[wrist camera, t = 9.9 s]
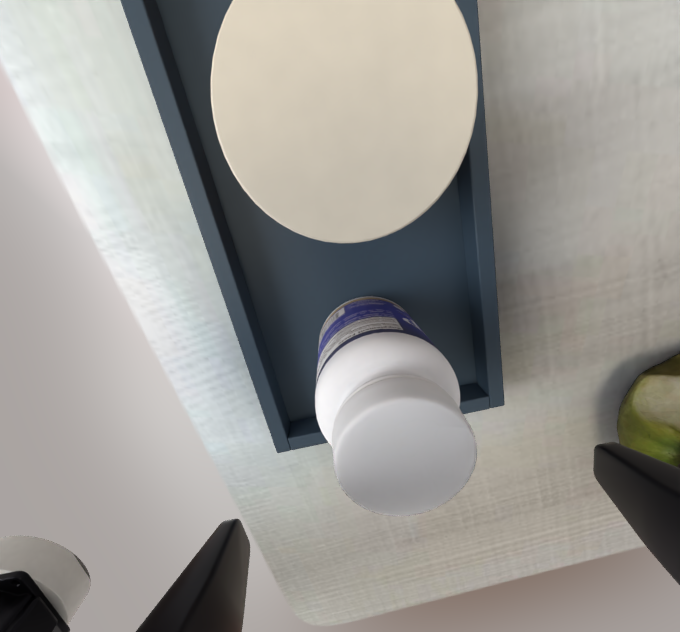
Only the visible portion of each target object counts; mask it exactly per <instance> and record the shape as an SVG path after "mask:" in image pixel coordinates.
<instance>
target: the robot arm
mask: <svg viewBox="0 0 680 632" xmlns="http://www.w3.org/2000/svg"><path fill="white" fill-rule="evenodd" d="M594 475H595V477H596V479H597V481H598V482H599V484H600V485H601V486H602V488H603V489H604V490H605V492H606V493H607V495H608V496H609V497H610V499H611V500H612V501H613V503H614V504H615V505H616V507H617V508H618V509H619V511H620V512H621V513H622V515H623V516H624V517H625V519H626V520H627V521H628V523H629V524H630V525H631V527H632V528H633V529H634V531H635V532H636V533H637V535H638V536H639V537H640V539H641V540H642V541H643V543H644V544H645V545H646V546H647V548H648V549H649V550H650V551H651V552H652V554H653V555H654V556H655V557H656V558H657V559H658V561H659V562H660V563H661V564H662V565H663V567H664V568H665V569H666V570H667V571H668V572H669V573H670V574H671V575H672V577H673V578H674V579H675V580H676V581H677V583H678V584H679V585H680V468H678V467H676V466H673V465H671V464H668V463H666V462H663V461H661V460H658V459H656V458H653V457H651V456H648V455H646V454H643V453H641V452H638V451H636V450H633V449H631V448H628V447H626V446H623V445H621V444H618V443H615V442H609V443H604V444H599V445H597V446H596V447H595V449H594ZM249 557H250V543H249V540H248V537H247V535H246V533H245V530H244V528H243V525H242V523H241V521H240V520H239V519H232V520H228V521H224V522H222V523H221V524H220V525H219V526H218V528H217V529H216V530H215V532H214V533H213V534H212V535H211V537H210V538H209V539H208V540H207V542H206V543H205V544H204V546H203V547H202V548H201V549H200V551H199V552H198V553H197V554H196V556H195V557H194V558H193V559H192V561H191V562H190V563H189V565H188V566H187V567H186V568H185V570H184V571H183V572H182V573H181V575H180V576H179V577H178V579H177V580H176V581H175V582H174V584H173V585H172V586H171V588H170V589H169V590H168V591H167V593H166V594H165V595H164V597H163V598H162V599H161V600H160V602H159V603H158V604H157V606H156V607H155V608H154V609H153V610H152V612H151V613H150V614H149V616H148V617H147V618H146V620H145V621H144V622H143V623H142V624H141V626H140V627H139V628H138V630H137V631H136V632H242V625H243V617H244V616H243V615H244V607H245V597H246V587H247V576H248V567H249ZM0 632H70V628H69V627H68V625H67V624H66V623H65V621H64V620H63V619H62V617H61V616H60V615H59V613H58V612H57V611H56V609H55V608H54V607H53V605H52V604H51V603H50V602H49V600H48V599H47V598H46V596H45V595H44V594H43V592H42V591H41V590H40V588H39V587H38V586H37V584H36V583H35V582H34V580H33V579H32V578H31V576H30V575H29V574H28V573H27V572H25V571H14V572H9V573H4V574H0Z"/></svg>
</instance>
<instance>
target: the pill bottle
mask: <svg viewBox="0 0 680 632" xmlns="http://www.w3.org/2000/svg"><path fill="white" fill-rule="evenodd" d="M459 407H460V389H459V384H458V380H457V377H456V375H455V373H454V370H453V369H452V367H451V365H450V364H449V362H448V361H447V359H446V358H445V357H444V355H443V354H442V353H441V352H440V351H439V349H438V348H437V347H436V346H435V345H434V344H433V343H432V341H431V340H430V339H429V338H428V337H427V336H426V334H425V333H424V332H423V331H422V330H421V329H420V327H419V326H418V325H417V324H416V323H415V322H414V320H413V319H412V318H411V317H410V316H409V315H408V313H407V312H406V311H405V310H404V309H403V308H401V307H400V306H399V305H397V304H396V303H394V302H392V301H390V300H387V299H384V298H381V297H373V296H366V297H359V298H355V299H352V300H349V301H347V302H345V303H343V304H342V305H340V306H339V307H337V308H336V309H335V310H334V311H333V312H332V313H331V314H330V315H329V317H328V318H327V319H326V321H325V323H324V325H323V327H322V329H321V333H320V337H319V348H318V366H317V378H316V387H315V410H316V416H317V421H318V424H319V427H320V429H321V431H322V433H323V435H324V437H325V438H326V440H327V441H328V442H329V444H330V445H331V446H332V448H333V462H334V469H335V474H336V477H337V480H338V482H339V484H340V486H341V488H342V489H343V491H344V492H345V493H346V495H347V496H348V497H350V498H351V499H352V500H353V501H354V502H355V503H357V504H358V505H360V506H361V507H363V508H365V509H367V510H369V511H372V512H374V513H378V514H382V515H388V516H410V515H416V514H420V513H424V512H428V511H430V510H433V509H435V508H437V507H439V506H441V505H443V504H444V503H446V502H447V501H449V500H450V499H452V498H453V497H454V496H455V495H456V494H457V493H459V492H460V490H461V489H462V488H463V487H464V486H465V484H466V483H467V482H468V480H469V478H470V477H471V474H472V472H473V470H474V467H475V463H476V458H477V445H476V440H475V436H474V433H473V431H472V429H471V426H470V425H469V423H468V422H467V420H466V418H465V417H464V415H463V414H462V412H461V410H460V408H459Z"/></svg>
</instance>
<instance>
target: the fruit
mask: <svg viewBox="0 0 680 632" xmlns="http://www.w3.org/2000/svg"><path fill="white" fill-rule="evenodd" d="M617 431H618V436H619V441H620V444H621V445H623V446H626V447H628V448H631V449H633V450H636V451H638V452H641V453H643V454H646V455H648V456H651V457H653V458H656V459H658V460H661V461H663V462H666V463H668V464H671V465H673V466H676V467H678V468H680V354H678V355H676V356H673V357H672V358H670V359H668V360H667V361H665V362H663V363H661V364H658V365H656V366H654V367H652V368H650V369H648V370H646V371H645V372H643V373H642V374H641V375H639V376H638V377H637V379H636V380H635V382H634V383H633V385H632V386H631V388H630V390H629V391H628V393H627V394H626V396H625V398H624V400H623V402H622V404H621V406H620V409H619V415H618V421H617Z"/></svg>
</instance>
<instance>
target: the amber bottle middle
mask: <svg viewBox="0 0 680 632" xmlns="http://www.w3.org/2000/svg"><path fill="white" fill-rule="evenodd" d="M477 100H478V74H477V66H476V59H475V53H474V49H473V45H472V41H471V37H470V33H469V30H468V28H467V25H466V23H465V20H464V17H463V15H462V13H461V11H460V9H459V7H458V5H457V3H456V2H455V0H233V1H232V3H231V5H230V7H229V9H228V11H227V13H226V15H225V17H224V20H223V22H222V25H221V28H220V31H219V34H218V37H217V41H216V45H215V50H214V54H213V60H212V70H211V104H212V112H213V120H214V124H215V128H216V132H217V136H218V140H219V143H220V145H221V148H222V151H223V154H224V156H225V158H226V160H227V162H228V164H229V166H230V168H231V170H232V172H233V174H234V176H235V177H236V179H237V180H238V182H239V183H240V185H241V187H242V188H243V189H244V191H245V192H246V193H247V194H248V195H249V197H250V198H251V199H252V200H253V201H254V203H255V204H256V205H258V206H259V207H260V208H261V209H262V210H263V211H264V212H265V213H266V214H267V215H269V216H270V217H271V218H273V219H274V220H275V221H277V222H278V223H279V224H281V225H283V226H285V227H286V228H288V229H290V230H292V231H294V232H296V233H298V234H301V235H303V236H306V237H308V238H312V239H316V240H320V241H324V242H332V243H359V242H365V241H371V240H374V239H378V238H381V237H385V236H387V235H389V234H392V233H394V232H396V231H398V230H400V229H402V228H404V227H405V226H407V225H409V224H410V223H412V222H413V221H415V220H416V219H417V218H419V217H420V216H421V215H422V214H424V213H425V212H426V211H427V210H428V209H429V208H430V207H431V206H432V205H433V204H434V203H435V202H436V201H437V200H438V199H439V198H440V196H441V195H442V194H443V192H444V191H445V190H446V189H447V187H448V186H449V185H450V183H451V181H452V180H453V178H454V176H455V175H456V173H457V171H458V169H459V167H460V165H461V163H462V161H463V159H464V156H465V154H466V152H467V148H468V145H469V142H470V139H471V136H472V132H473V127H474V123H475V118H476V110H477Z"/></svg>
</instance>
